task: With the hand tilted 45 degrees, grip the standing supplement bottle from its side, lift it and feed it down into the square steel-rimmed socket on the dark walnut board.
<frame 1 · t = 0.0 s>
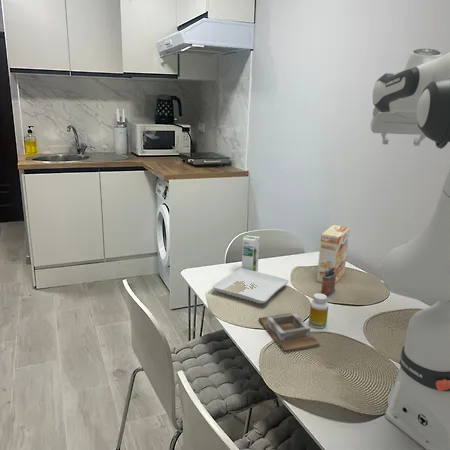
hand: (400, 144, 132), 54 cm above the table, tool tilted 30°, fingers open, 8 cm apart
socket board: (287, 333, 125), on the table
salad plate: (250, 291, 153), on the table
syrup box: (249, 271, 169), on the table
supplement bottle: (317, 324, 131), on the table
coffeecake box: (330, 277, 165), on the table
lighter: (327, 293, 152), on the table
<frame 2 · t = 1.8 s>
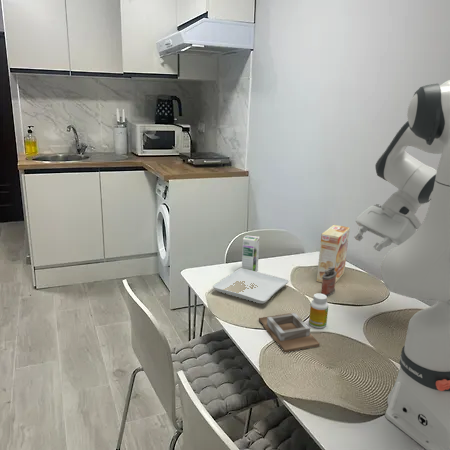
hand: (365, 244, 128), 25 cm above the table, tool tilted 45°, fingers open, 8 cm apart
nothing on the table moved.
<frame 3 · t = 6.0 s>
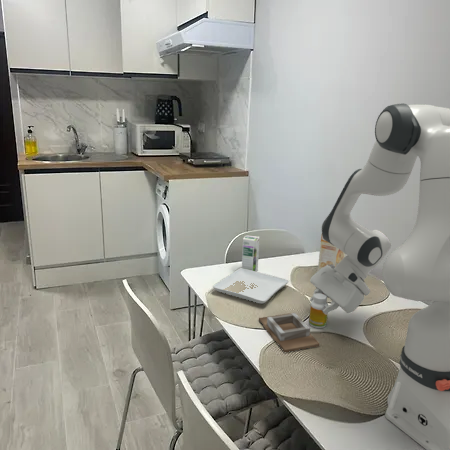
hand: (317, 307, 129), 6 cm above the table, tool tilted 45°, fingers closed on supplement bottle, 5 cm apart
supplement bottle: (317, 324, 131), on the table, touching gripper
everything else where it was.
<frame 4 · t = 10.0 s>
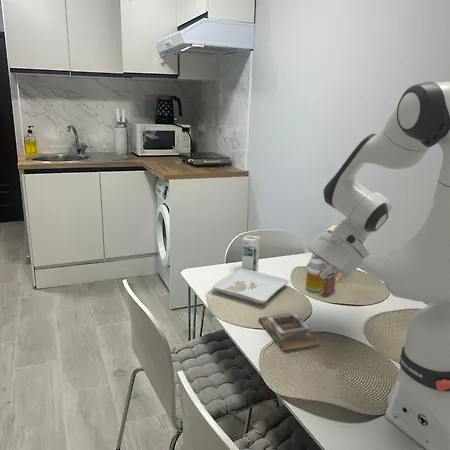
hand: (314, 272, 124), 18 cm above the table, tool tilted 45°, fingers closed on supplement bottle, 5 cm apart
supplement bottle: (314, 291, 126), point 12 cm above the table, touching gripper
everything else where it was.
when the fingers open (8 cm above the table, at t = 13.6 s): supplement bottle stays where it is, resting on socket board.
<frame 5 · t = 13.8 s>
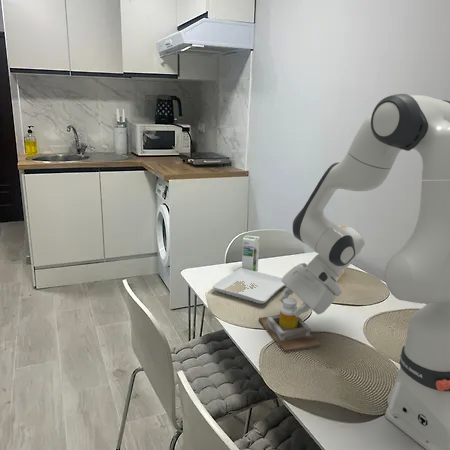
hand: (287, 308, 123), 8 cm above the table, tool tilted 45°, fingers open, 7 cm apart
supplement bottle: (287, 330, 125), point 1 cm above the table, touching socket board
everything else where it was.
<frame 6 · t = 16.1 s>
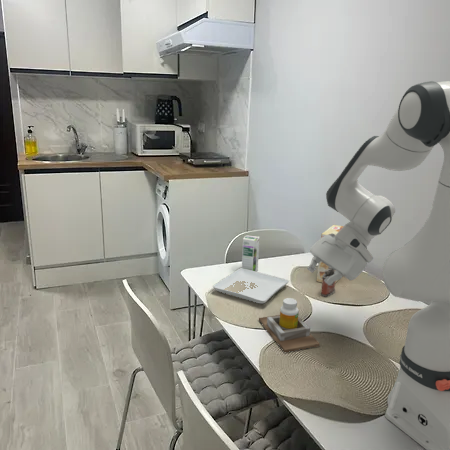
hand: (317, 276, 123), 17 cm above the table, tool tilted 45°, fingers open, 8 cm apart
nothing on the table moved.
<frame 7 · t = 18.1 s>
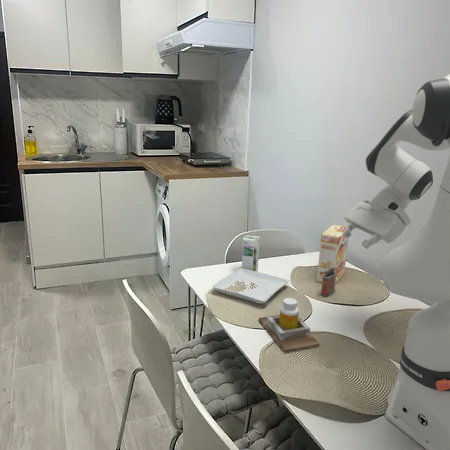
hand: (354, 241, 123), 27 cm above the table, tool tilted 45°, fingers open, 8 cm apart
nothing on the table moved.
at the end: supplement bottle 0.1 cm off-centre on the socket board, point 0.8 cm above the socket board's base; supplement bottle tilted 0°; the gripper is holding nothing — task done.
